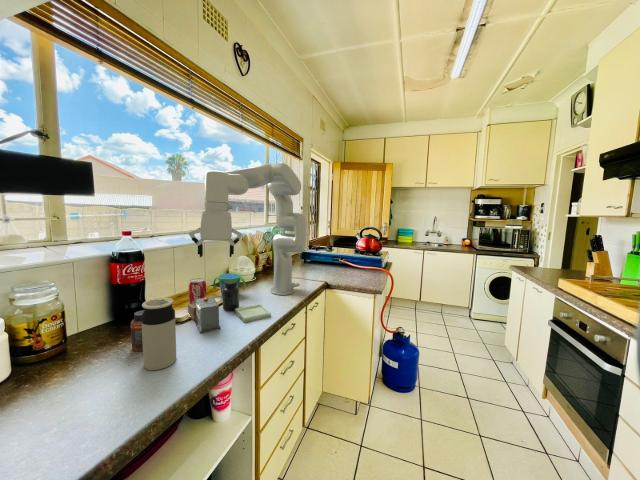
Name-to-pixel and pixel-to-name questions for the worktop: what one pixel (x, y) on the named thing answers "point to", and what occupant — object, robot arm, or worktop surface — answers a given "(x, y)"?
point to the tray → (252, 313)
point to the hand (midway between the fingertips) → (216, 256)
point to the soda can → (196, 290)
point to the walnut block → (192, 311)
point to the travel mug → (158, 333)
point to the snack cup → (228, 277)
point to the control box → (207, 314)
